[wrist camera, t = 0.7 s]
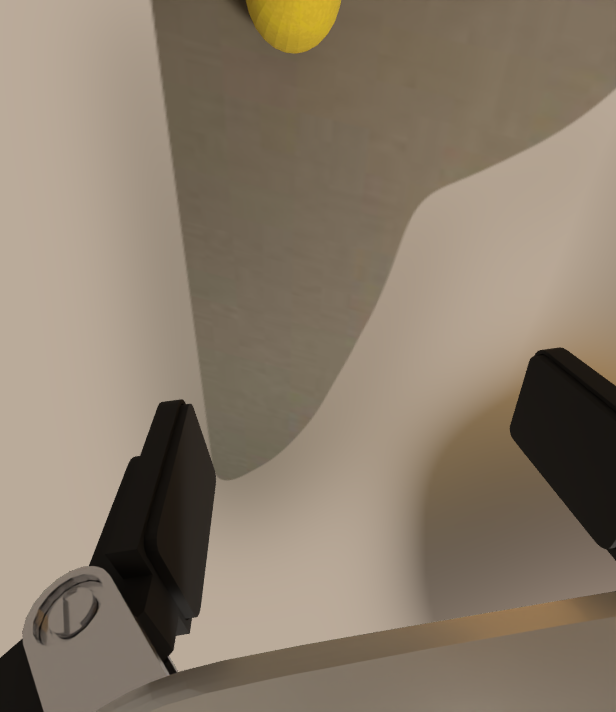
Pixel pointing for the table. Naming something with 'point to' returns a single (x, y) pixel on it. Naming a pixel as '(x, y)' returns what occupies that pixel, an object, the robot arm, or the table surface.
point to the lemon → (293, 22)
